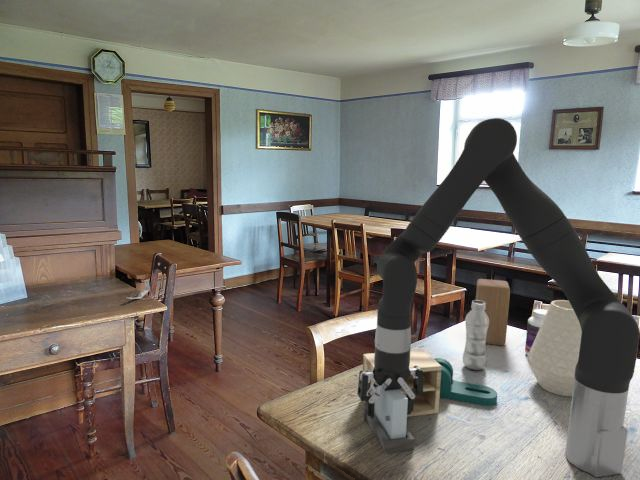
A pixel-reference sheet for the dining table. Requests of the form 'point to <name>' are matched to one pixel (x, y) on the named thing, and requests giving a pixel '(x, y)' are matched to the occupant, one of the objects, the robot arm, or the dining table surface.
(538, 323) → the pill bottle
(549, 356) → the vase
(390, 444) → the wooden caddy
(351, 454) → the dining table surface
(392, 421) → the door
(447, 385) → the bracket
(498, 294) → the wooden block
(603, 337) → the robot arm
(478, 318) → the plastic bottle
